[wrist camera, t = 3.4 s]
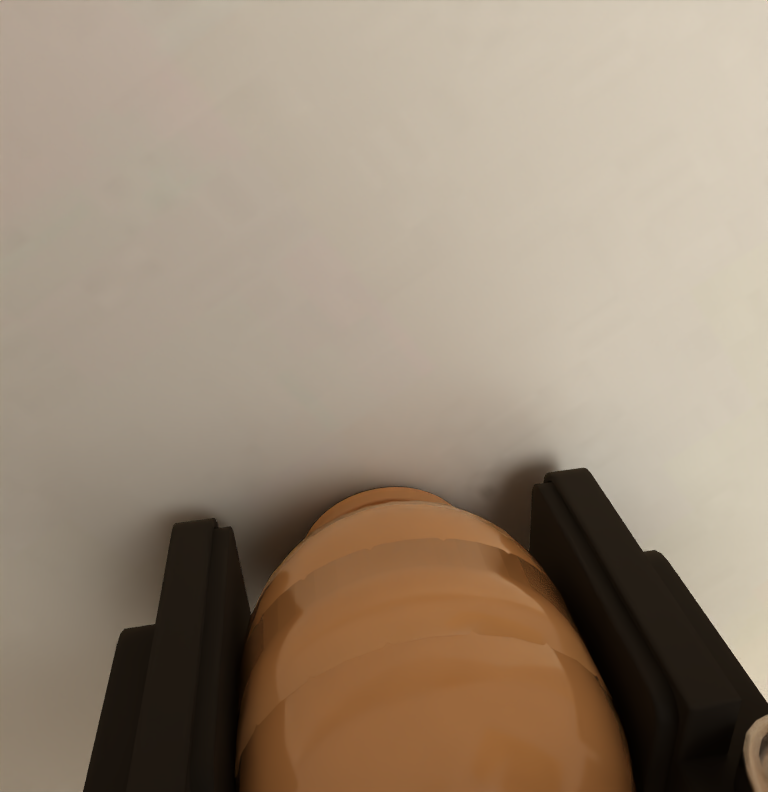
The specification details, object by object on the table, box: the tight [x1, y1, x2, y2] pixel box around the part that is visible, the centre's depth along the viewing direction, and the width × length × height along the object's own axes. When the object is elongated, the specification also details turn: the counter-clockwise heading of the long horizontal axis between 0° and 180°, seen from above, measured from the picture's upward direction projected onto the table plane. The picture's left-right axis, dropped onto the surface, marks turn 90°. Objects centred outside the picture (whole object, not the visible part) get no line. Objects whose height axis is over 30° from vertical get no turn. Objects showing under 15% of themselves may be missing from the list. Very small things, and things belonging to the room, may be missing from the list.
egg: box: [234, 487, 636, 792], centre depth 8 cm, size 4×4×6 cm
